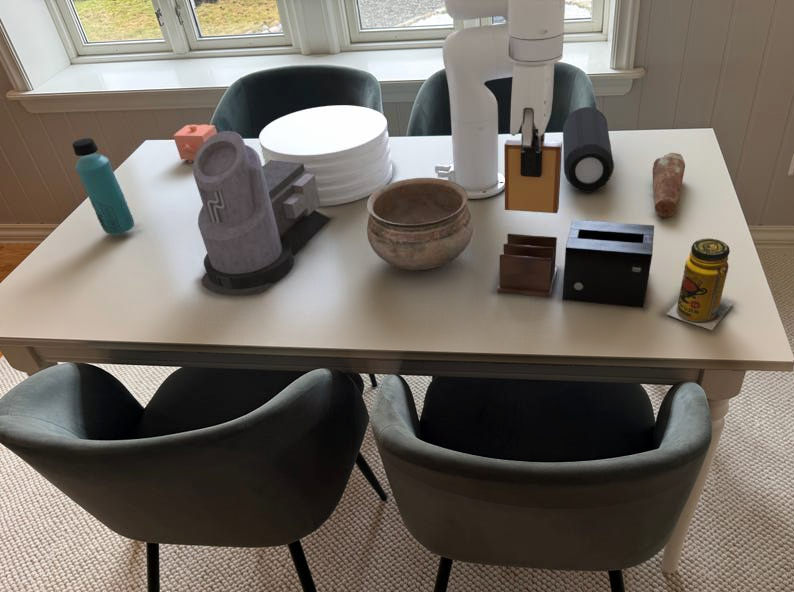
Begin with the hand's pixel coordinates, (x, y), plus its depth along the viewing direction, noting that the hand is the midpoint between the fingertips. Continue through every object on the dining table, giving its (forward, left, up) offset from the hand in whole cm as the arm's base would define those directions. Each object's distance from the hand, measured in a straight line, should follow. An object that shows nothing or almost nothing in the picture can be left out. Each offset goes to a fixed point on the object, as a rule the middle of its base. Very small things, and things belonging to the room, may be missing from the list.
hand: (532, 171), depth 104 cm
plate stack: (-51, +33, -20) cm, 64 cm away
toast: (0, 0, -6) cm, 6 cm away
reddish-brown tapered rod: (+23, +33, -20) cm, 44 cm away
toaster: (+13, -2, -19) cm, 23 cm away
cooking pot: (-20, +2, -20) cm, 28 cm away
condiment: (+28, -5, -20) cm, 35 cm away
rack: (0, -2, -19) cm, 19 cm away
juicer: (-51, 0, -20) cm, 55 cm away
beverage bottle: (-86, +2, -20) cm, 88 cm away
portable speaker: (+5, +44, -20) cm, 48 cm away
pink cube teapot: (-89, +39, -20) cm, 99 cm away
